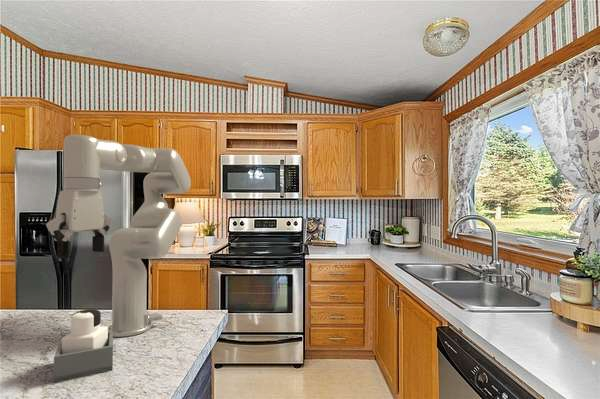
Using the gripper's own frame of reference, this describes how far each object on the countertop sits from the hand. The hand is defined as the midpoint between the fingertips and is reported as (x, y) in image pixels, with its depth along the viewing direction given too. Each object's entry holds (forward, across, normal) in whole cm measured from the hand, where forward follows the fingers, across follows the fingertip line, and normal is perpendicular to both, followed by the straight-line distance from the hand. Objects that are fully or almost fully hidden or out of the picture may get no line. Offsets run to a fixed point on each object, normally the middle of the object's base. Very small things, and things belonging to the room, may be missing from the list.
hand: (82, 254), depth 82 cm
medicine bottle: (+26, +2, +3) cm, 26 cm away
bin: (+26, +2, +3) cm, 27 cm away
